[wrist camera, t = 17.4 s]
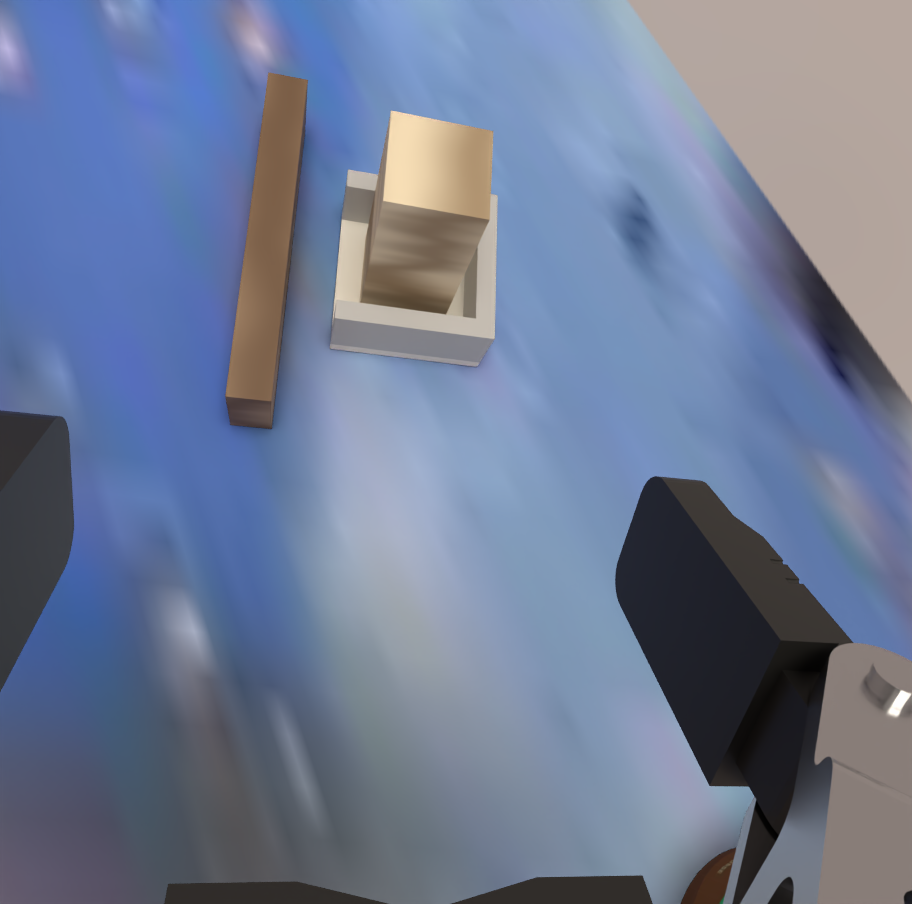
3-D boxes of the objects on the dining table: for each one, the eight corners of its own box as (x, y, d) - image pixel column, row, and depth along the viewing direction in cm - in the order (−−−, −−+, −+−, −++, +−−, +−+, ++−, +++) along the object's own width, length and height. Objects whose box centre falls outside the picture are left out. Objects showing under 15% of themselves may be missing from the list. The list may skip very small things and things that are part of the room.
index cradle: (329, 348, 40) (334, 318, 36) (342, 210, 42) (348, 169, 39) (476, 366, 41) (494, 339, 38) (480, 232, 44) (497, 195, 41)
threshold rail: (230, 424, 37) (225, 396, 34) (269, 125, 43) (268, 72, 39) (271, 429, 38) (271, 401, 34) (305, 131, 43) (307, 80, 40)
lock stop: (358, 312, 40) (383, 200, 31) (365, 239, 41) (391, 110, 32) (441, 324, 41) (489, 219, 32) (445, 252, 42) (493, 131, 33)
